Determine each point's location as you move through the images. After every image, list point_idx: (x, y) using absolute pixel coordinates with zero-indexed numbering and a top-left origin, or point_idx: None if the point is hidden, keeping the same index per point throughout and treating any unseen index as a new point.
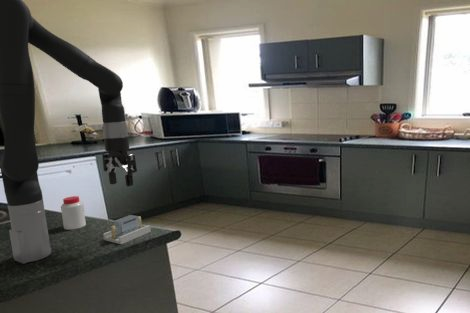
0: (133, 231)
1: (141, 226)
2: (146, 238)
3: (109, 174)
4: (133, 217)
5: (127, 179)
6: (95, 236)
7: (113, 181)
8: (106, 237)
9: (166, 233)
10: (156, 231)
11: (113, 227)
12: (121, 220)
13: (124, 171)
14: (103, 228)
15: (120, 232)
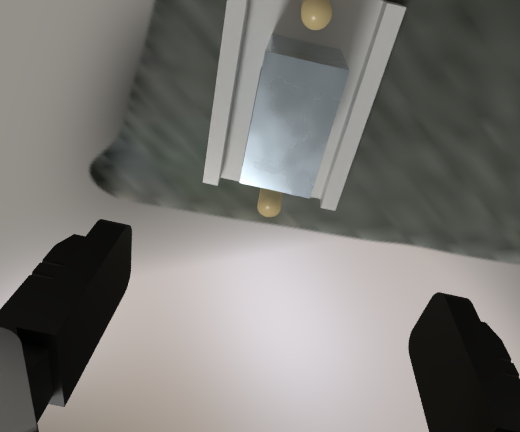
0: (228, 84)
1: None
2: (163, 83)
3: (510, 419)
4: (252, 158)
5: (57, 282)
6: (496, 44)
7: (433, 338)
8: (377, 3)
9: (118, 161)
10: (185, 175)
11: (304, 3)
12: (293, 90)
13: (3, 398)
14: (517, 165)
15: (287, 41)
